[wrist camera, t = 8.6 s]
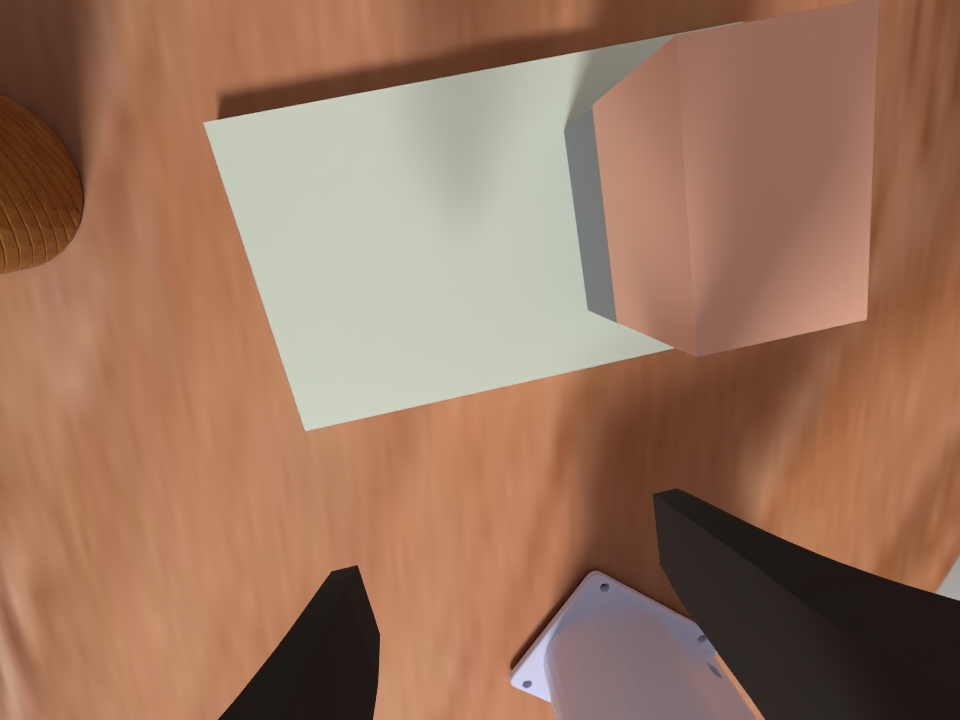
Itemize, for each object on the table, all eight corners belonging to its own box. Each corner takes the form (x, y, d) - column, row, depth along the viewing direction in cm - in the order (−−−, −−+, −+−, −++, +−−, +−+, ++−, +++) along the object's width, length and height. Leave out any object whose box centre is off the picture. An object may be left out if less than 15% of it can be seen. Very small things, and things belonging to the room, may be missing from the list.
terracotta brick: (729, 78, 14) (879, -2, 10) (737, 296, 16) (866, 319, 11) (592, 104, 14) (675, 35, 9) (616, 322, 16) (696, 357, 11)
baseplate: (726, 33, 18) (743, 21, 17) (738, 326, 21) (753, 330, 20) (216, 129, 17) (203, 122, 16) (311, 421, 20) (305, 431, 19)
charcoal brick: (676, 108, 17) (729, 80, 14) (689, 288, 19) (738, 297, 16) (563, 130, 17) (592, 106, 14) (587, 310, 19) (617, 323, 16)
